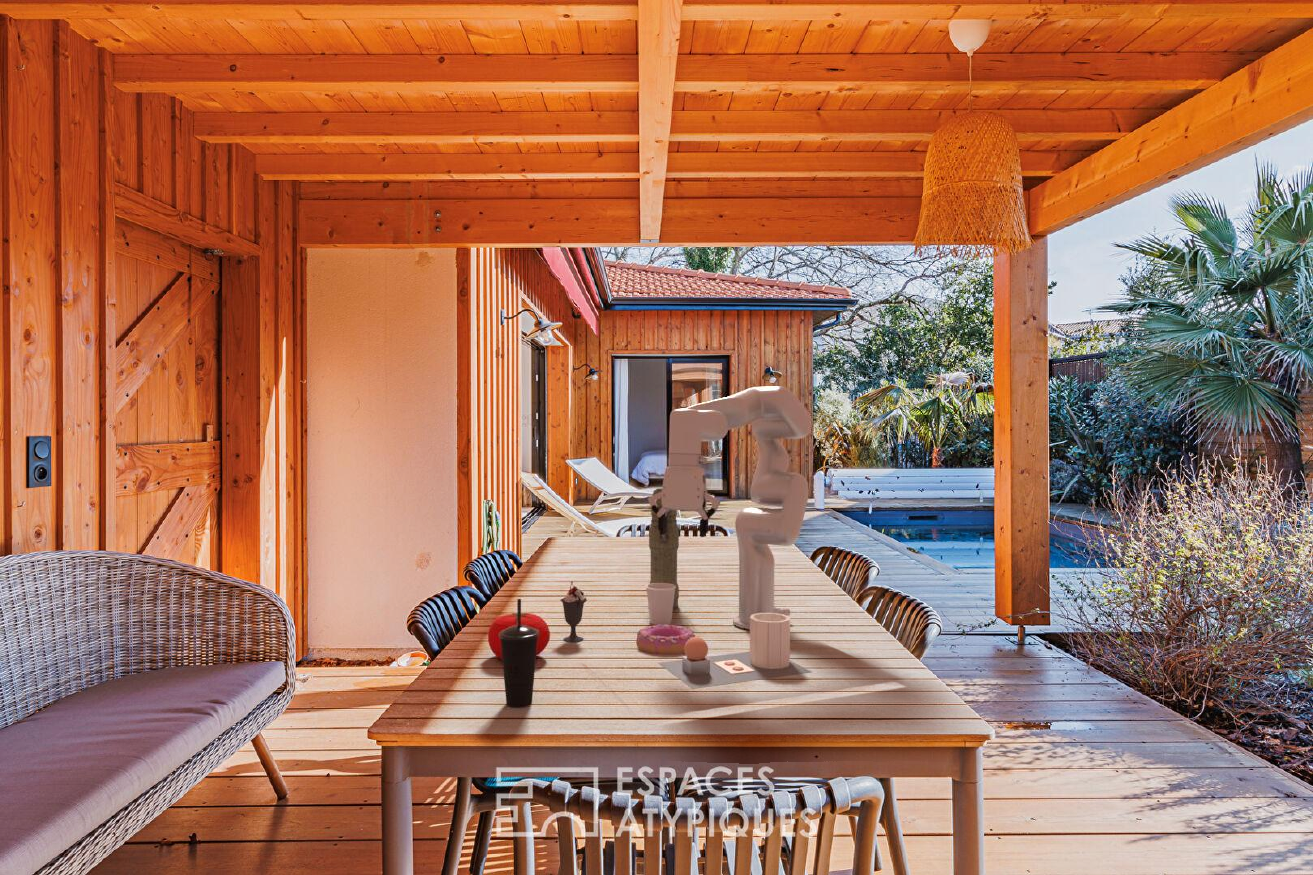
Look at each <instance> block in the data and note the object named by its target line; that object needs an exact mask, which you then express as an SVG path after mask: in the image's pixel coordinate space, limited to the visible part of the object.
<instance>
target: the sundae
mask: <svg viewBox="0 0 1313 875" xmlns="http://www.w3.org/2000/svg"><path fill="white" fill-rule="evenodd" d="M572 586H573V587H572ZM569 588H570V589H569V590H568V591H567V592H566V594H565V596H564V597H563V598H561V599H559V601H560V602H561V603H562V607H563V614H564V620H565V622H566V624H567V625H569V626H570V632H569V635H568V636H565V637H564V638H563V639H562V640H563V641H564V642H566V643H578V642H581V641H582V642H583V640H584V638H583V637H582V636H578V635H577V632H576V630H577V629H576V627H577V626H578V625H579V624H580V622H582V618H583V611H584V610H583V609H584V605H585V603H586V602H587V597H584V595H585V594H584V593H585V592H583V590H581V589H580V588H578V587H577V586H575V585H574V583H573V581H571V582H570V587H569Z"/></svg>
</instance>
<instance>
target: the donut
mask: <svg viewBox="0 0 1313 875" xmlns="http://www.w3.org/2000/svg"><path fill="white" fill-rule="evenodd" d="M692 637H696V631H694V630H693V629H691V628H690V627H688V626H687V627H685V626H681V625H677V624H676V625H671V624H667V625H655V624H651V625H650V626H646V627H644V628H640V629H639V631H637V633H636V640H635V641H636V643H635V644H636V647H637V649H638V651H640V650H641V651H644V652H647V653H652V654H663V655H673V654H675V655H676V654H683V653H685V651H684V647H685V644H686V642H687V641H688V640H689V639H690V638H692Z"/></svg>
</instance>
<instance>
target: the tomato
mask: <svg viewBox="0 0 1313 875" xmlns="http://www.w3.org/2000/svg"><path fill="white" fill-rule="evenodd" d="M516 625H517V613H514V612H512V613H509V614H505V615H501V616H499V617H497V618H496V619H495V620H493V621H492V623H491V624H490V627H489V629H488V634H487V641H488V645H489V648H490V650H491V652H492V653H493V654H494V655H495V657H496V658H499V659H500V660H502V650H501V639H500V637H499V632H500V631H502V630H505V629H506V628H508V627H511V626H516ZM521 625H525V626H529V627H532V628H534V629H537V630H538V631H539V636H538V639H537V650H536V657H537V656H539V655H540V654H541V653H542V652H544V650H545V649H546V648H547V646H548V644H549V642H550V638H551V631H550V628H549V625H548V624H547V622H546V621H545V619H543V618H542V617H541V616H539V615H537V614H534V613H531V612H529V613H528V612H521Z"/></svg>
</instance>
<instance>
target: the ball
mask: <svg viewBox="0 0 1313 875" xmlns="http://www.w3.org/2000/svg"><path fill="white" fill-rule="evenodd" d="M684 651H685V652H684V654H685V656H687V657H688V658H689V659H690V660H692V661H697V660H703V659H704V658H705V657H707V656H708V653H709V652H708V651H709V645H708V644H707V642H706V640H704V638H702V637H699V636H695V637H692V638H690V639H689V640H688V641H687V642H686V644H685V647H684Z"/></svg>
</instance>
